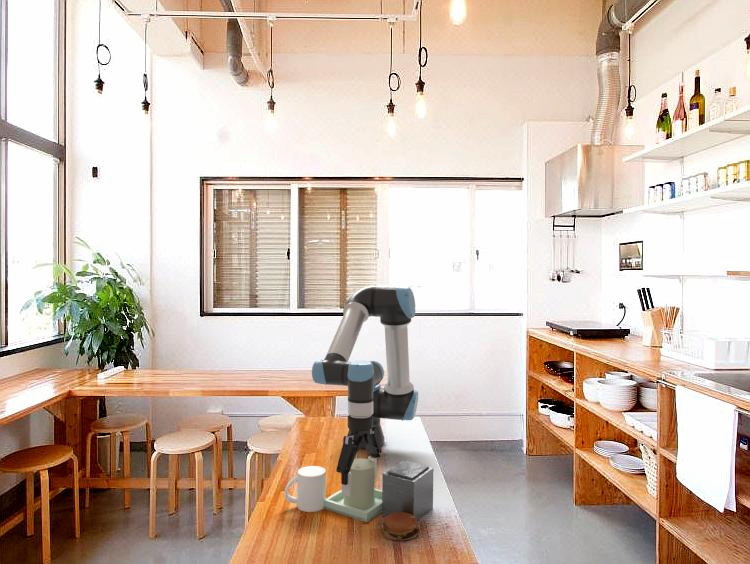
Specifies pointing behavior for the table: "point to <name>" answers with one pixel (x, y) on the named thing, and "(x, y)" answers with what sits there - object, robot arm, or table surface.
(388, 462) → the table surface
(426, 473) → the unit
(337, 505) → the tray
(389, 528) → the burger
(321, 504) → the mug
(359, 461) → the can
